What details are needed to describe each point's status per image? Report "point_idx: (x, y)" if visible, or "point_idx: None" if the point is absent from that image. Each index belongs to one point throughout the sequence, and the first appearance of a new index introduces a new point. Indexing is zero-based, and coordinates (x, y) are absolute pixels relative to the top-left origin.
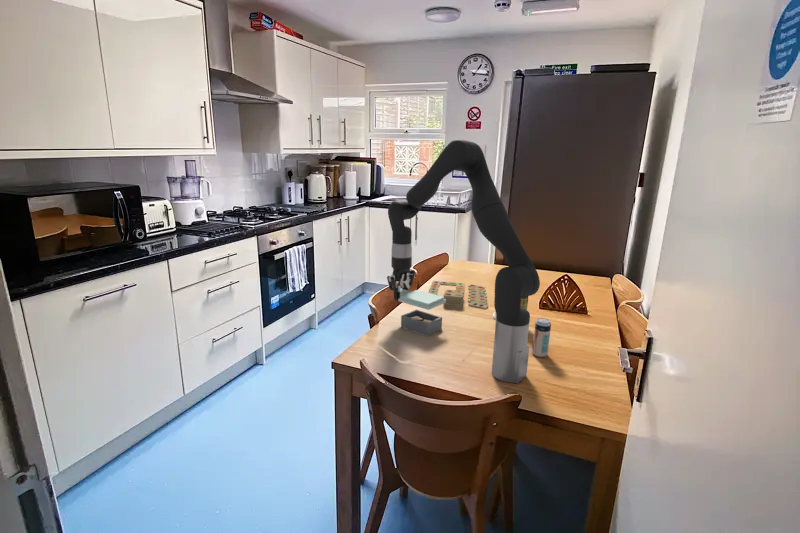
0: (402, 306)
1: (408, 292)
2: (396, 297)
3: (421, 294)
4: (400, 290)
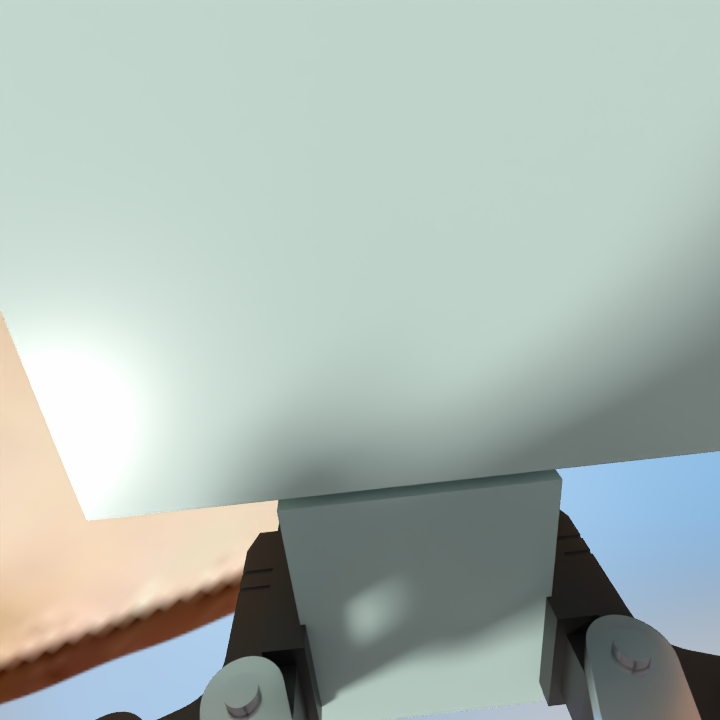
0: (114, 586)
1: (406, 503)
2: (578, 536)
3: (249, 139)
4: (423, 670)
